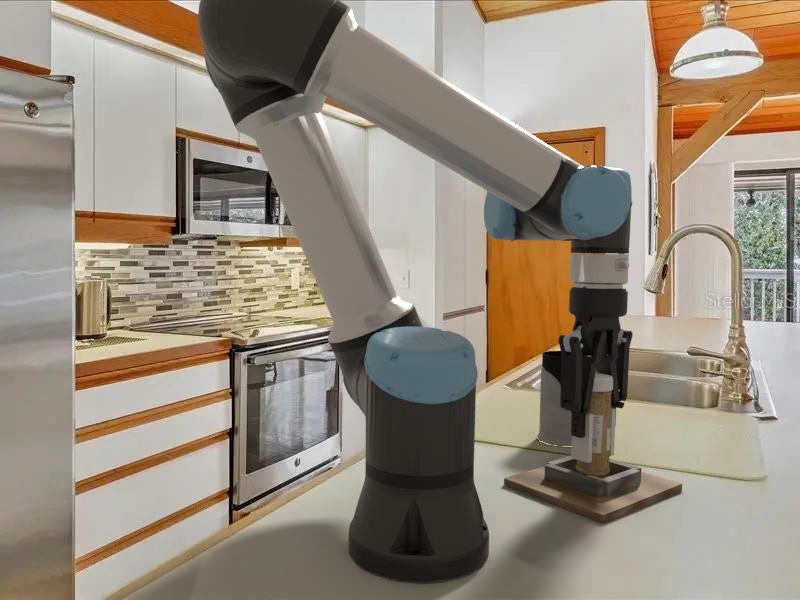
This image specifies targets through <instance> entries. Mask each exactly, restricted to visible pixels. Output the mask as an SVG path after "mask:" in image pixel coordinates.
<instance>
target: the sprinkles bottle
mask: <svg viewBox="0 0 800 600" xmlns="http://www.w3.org/2000/svg"><path fill="white" fill-rule="evenodd" d="M612 390H613V377H612V376H610V375H607V374H600V373H597V372H596V373H595V378H594V384H593V390H592V396H591V402H590V408H589V412H588V413H591V414H593V436H592V462H590V463H586V462H583V461H580V460H577V465H576V470H577V471H578V472H580V473H582V474H584V475H588V476H596V477H598V476H605V475H607V474H609V472H610V468H609V459H610V456H609V454H610V435H611V428H610V425H611V420H610V418H611V417H610V416H611V413H610V412H611V394H612ZM581 404H582V403H581Z"/></svg>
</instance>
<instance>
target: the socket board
mask: <svg viewBox="0 0 800 600" xmlns="http://www.w3.org/2000/svg"><path fill="white" fill-rule="evenodd" d="M571 456H572V454H571V455H567V456H565V457H562V458H561V457H560V458H558V459H557V458H556V459H555V460H551V461H547V462H546V464H545V465H544V466H541V467H537V468H533V469H531V470H527V471H523V472H520V473H517V474H513V475H509V476H506V477H504V478H503V486H505V487H508V488H509V489H513V490H516V491H518V492H521V493H524V494H525V495H529V496H531V497H534V498H537V499H538V500H541V501H544V502H547V503H549V504H552V505H554V506H557V507H560V508H563V509H565V510H567V511H569V512H570V511H571V513H575V514H579V515H580V516H582V517H586V518H588V519H590V520H593V521H597V522H598V523H601V524H605V523H607V522H610V521H612V520H615V519H618V518H619V517H622V516H624V515H628V514H629V513H631V512H635V511H637V510H639V509H641V508H643V507H647V506H648V505H651V504H653V503H656V502H659V501H660V500H661V501H662V500H663V499H666V498H667V497H670V496H673V495H675V494H678V493H680V492H682V491H683V483H681V482H677V481H675V480H671V479H669V478H665V477H661V476H658V475H654V474H652V473H648V472H644V471H642V467H640V466H636V465H632V464H630V463H629V464H628V463H626V462H622V461H619V460H616V459H612V458H609V468H610V472H609V474H607V475H605V476H598V477H596V476H588V475H584V474H582V473H580V472H578V471H577V470H576V465H577V460H576V459H573V458H571Z"/></svg>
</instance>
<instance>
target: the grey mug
mask: <svg viewBox="0 0 800 600" xmlns="http://www.w3.org/2000/svg"><path fill="white" fill-rule="evenodd" d="M541 356H542V358H541V360H542V361H541V369H540V395H539V399H540V402H539V432H538V434H537V436H536V438H537V437H538V439H539V440H540V441H543V442H545V443H548V444H551V445H557V446H572V434H571V417H572V414H571V411H568V410H565V409H564V408H561V406H560V394H561V350H548V351H544V352H542V355H541ZM584 356H589V355H584ZM595 373H597V372H595Z"/></svg>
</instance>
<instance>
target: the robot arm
mask: <svg viewBox="0 0 800 600" xmlns="http://www.w3.org/2000/svg"><path fill="white" fill-rule="evenodd" d="M197 25H198V32H199V35H200V37H199V38H200V40H201V43H202V48H203V52H204V53H203V54H204V62H205V67H206V70H207V74H208V76H209V78H210V80H211V82H212V84H213V86H214V87H215V88H216V89H217V91H218V93H219V94H220V96H221V98H222V100H223V102H224V103H223V104H225V108H226V110H227V112H228V114H229V116H230V119H231V120H232V121H231V122H232V123H233V125H234V127H235V129H236V131H237V132H239V133H240V134H243V135H246V136H248V137H250V138H252V140H254V141H255V143H256V145H257V147H258V150H259V152H260V155H261V158H262V159H263V161H264V164H265V167H266V169H267V171H268V173H269V176H270V178H271V180H272V182H273V183H272V184H273V185H274V187H275V189H276V192H277V194H278V196H279V199H280V201H281V204H282V205H283V208H284V211H285V213H286V216H287V218H288V220H289V222H290V224H291V226H292V229H293V232H294V234H295V236H296V239H297V241H298V243H299V245H300V248H301V250H302V252H303V254H304V257H305V259H306V261H307V265H308V267H309V269H310V271H311V273H312V276H313V278H314V280H315V282H316V285H317V287H318V289H319V291H320V293H321V294H320V295H321V296H322V298H323V301H324V303H325V305H326V307H327V310H328V313H329V315H330V317H331V319H332V327H331V329H330V331H329V334H328V337H327V341H328V343H329V345H330V348H331V350H332V352H333V354H334V357H335V359H336V361H337V364H338V366H339V369H340V370H341V375H342V381H343V384H344V388H345V390H346V392H347V394H348V395H349V397H350V399H351V400H352V401H353V402H354V403H355V404H356V406H358V408H359V409H360V410H361V412H362V414H363V415H364V416H365V418H364V419H365V476H364V482H363V484H362V488H361V491H360V494H359V497H358V501H357V503H356V507H355V511H354V514H353V518H352V520H351V522H350V524H349V528H348V554H349V556H350V558H351V560H353V562H354V563H355V564H357V566H359V567H360V568H362V569H363V570H364V571H366V572H367V571H368V572H370V573H371V574H374V575H377V576H380V577H382V578H386V579H391V580H397V581H402V582H403V581H404V582H413V583H431V582H432V583H433V582H442V581H448V580H453V579H457V578H460V577H465V576H466V575H469V574H471V573H473V572H475V571H477V570H478V569H479V568H481V567H482V566H483V565H484V564H485V563H486V562H487V560H488V557H489V555H490V554H489V553H490V533H489V532H490V531H489V527H488V524H487V521H486V520H485V518H484V513H483V508H482V505H481V501H480V497H479V493H478V491H477V488H476V484H475V474H474V473H475V469H474V468H475V441H476V440H475V438H476V435H475V434H476V400H477V399H476V397H477V395H476V393H477V392H476V391H477V381H478V375H479V373H478V366H477V365H476V364H477V363H476V352H475V351H476V350H475V348H474V345H473V344H472V343H471V341H470V340H469V339H468V338H466V337H465V336H463V335H461V334H459V333H457V332H453V331H450V330H442V329H441V328H436V327H429V326H424V325H423V324H422V321H421V319H420V317H419V313H418V312H417V309H416V306H415V304H414V302H412V301H410V300H408V299H405V298H403V297H401V296H399V295H398V294H397V292H396V290H395V288H394V285H393V282H392V280H391V278H390V276H389V273H388V270H387V268H386V266H385V263H384V262H383V258H382V256H381V254H380V251H379V249H378V247H377V244H376V241H375V239H374V236H373V234H372V232H371V230H370V227H369V224H368V222H367V219H366V217H365V215H364V212H363V210H362V208H361V205H360V202H359V200H358V197H357V195H356V193H355V191H354V188H353V185H352V183H351V180H350V179H349V176H348V173H347V171H346V168H345V167H344V164H343V162H342V159H341V157H340V154H339V152H338V150H337V149H338V148H337V147H336V145H335V142H334V140H333V137H332V134H331V133H330V130H329V127H328V125H327V123H326V121H325V118H324V115H323V114H322V113H323V107H324V105H325V103H326V100H327V98H328V99H330V100H332V101H333V102H334V103H337V104H338V105H340V106H341V107H343V108H346V109H347V110H348V111H350V112H352V113H354V114H356V115H357V116H359V117H361V118H362V119H364V120H366V121H368V122H369V123H371V124H373V125H374V126H376V127H378V128H379V129H381V130H383V131H385V132H386V133H388V134H390V135H391V136H393V137H395V139H398V140H400V141H402V142H403V143H405V144H407V145H408V146H410V147H412V148H413V149H415V150H416V151H419V152H420V153H422V154H424V155H425V156H427V157H429V158H431V159H432V160H434V161H435V162H438V163H439V164H440V165H442V166H445V167H446V168H448V169H450V170H451V171H452V172H455V174H458V175H459V176H461V177H462V178H464V179H466V180H468V181H470V182H471V183H473V184H474V185H476V186H478V187H479V188H482V189H483V190H485V191H487V193H486V196H485V200H484V206H483V207H484V208H483V221H484V227H485V230H486V232H487V234H488V235H489V236H490V237H491V238H492V239H494V240H502V241H510V242H515V241H526V242H527V241H531V242H533V241H535V242H537V241H538V242H541V241H542V242H543V241H545V242H547V241H555V242H556V241H559V242H560V241H561V242H570V258H569V259H570V260H569V282H570V283H571V284H573V287H572V286H571V287H570V289H569V295H568V296H569V297H568V311H569V313H570V315H573V316H574V319H575V320H574V324H573V326H572V332H570V333H569V334H568V335H565V334H560V335H559V337H558V344H559V349H560V350H559V351H561V394H560V406H561V408H564V409H565V410H568V411H571V414H572V417H571V434H572V448H571V455H572V456H571V455H570V456H571V458H573V459H576V460H580V461H583V462H586V463H590V462H592V436H593V414H591V413H588V412H589V408H590V402H591V396H592V390H593V384H594V378H595V372H596V373H600V374H607V375H610V376H612V377H613V390H612V394H611V412H610V413H611V416H610V417H611V418H610V420H611V425H610V428H611V435H610V454H609V457H612V456H615V436H616V435H615V434H616V433H615V431H616V425H617V423H616V422H617V421H616V420H617V418H616V417H617V408H618V409H623V408H624V407H625V401H627V398H628V385H629V367H630V366H629V365H630V364H629V363H630V349H631V348H630V346H631V344H632V340H633V336H634V335H633V332H632V331H631V330H627V329H622V328H621V327H622V326H621V323H620V318H622V317H625V316H626V315H627V313H628V299H629V297H628V296H629V291H628V290H627V288H624V285H626V284H628V283H629V267H630V263H629V258H630V257H629V253H630V244H631V243H630V239H631V238H630V236H631V218H632V217H631V216H632V207H633V201H632V198H633V197H632V196H633V195H632V179H631V175H630V173H629V172H628V171H627V170H626V169H623V168H615V167H609V166H608V167H607V166H603V165H595V164H594V165H591V164H590V165H589V164H588V165H585V166H584V165H582V164H580V163H578V162H577V161H575V160H573V159H572V158H571V157H570V156H567V155H565V154H563V153H562V152H560V151H559V150H557V149H555V148H553V147H552V146H551V145H549V144H547V143H546V142H544V141H543V140H541V139H540V138H537V137H536V136H535V135H533V134H531V133H530V132H528V131H526V130H525V129H523V128H522V127H520V126H519V125H518V124H515V123H514V122H513V121H510V120H509V119H508V118H506V117H504V116H503V115H502V114H499V113H498V112H496V111H495V110H493V109H492V108H490V107H488V106H487V105H485V104H484V103H482V102H480V101H479V100H477V99H476V98H474V97H473V96H471V95H470V94H468V93H467V92H464V90H462V89H460V88H458V87H457V86H455V85H453V84H452V83H451V82H449V81H448V80H446V79H445V78H443V77H441V76H440V75H439V74H436V73H435V72H433V71H432V70H430V69H428V68H427V67H425V66H424V65H422V64H420V63H418V62H417V61H416V60H415V59H412V58H411V57H409V56H407V55H406V54H405V53H403V52H402V51H399V50H398V49H396V48H395V47H393V46H391V45H390V44H389V43H387V42H386V41H384V40H382V39H381V38H379V37H377V36H376V35H375V34H373V33H371V32H370V31H368V30H367V29H364V28H363V27H361V26H360V25H358V23H357V21H356V19H355V15H354V12H353V8H351V6H349V5H347V4H346V3H344V2H343V1H340V0H200V1H199V5H198V12H197ZM584 355H588V356H584ZM581 403H582V404H581Z"/></svg>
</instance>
